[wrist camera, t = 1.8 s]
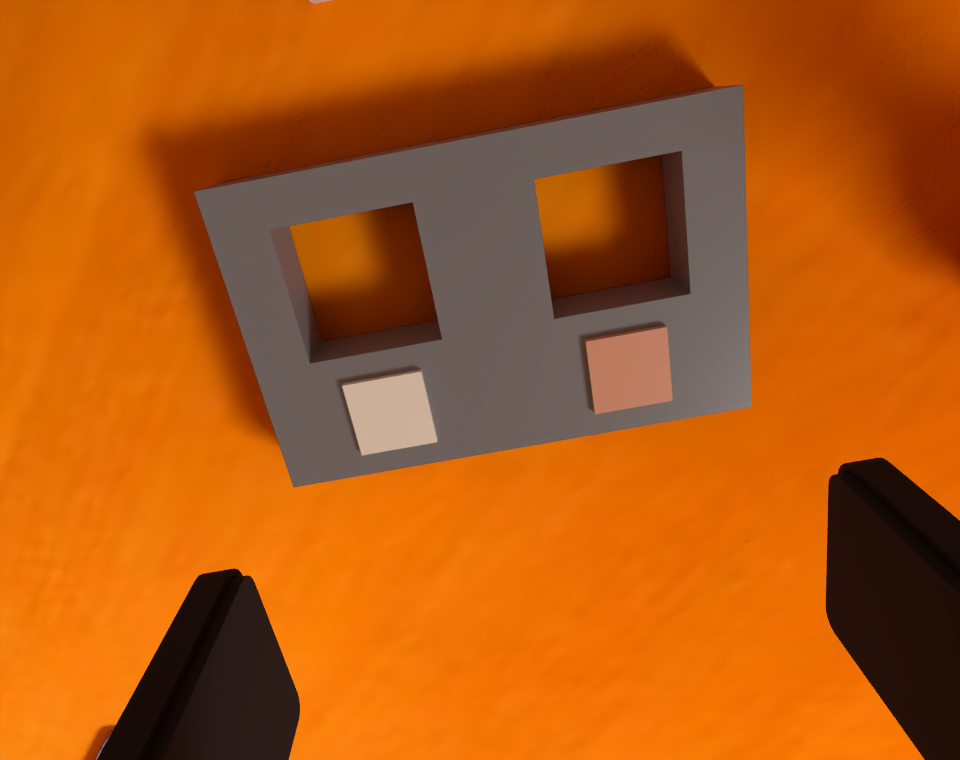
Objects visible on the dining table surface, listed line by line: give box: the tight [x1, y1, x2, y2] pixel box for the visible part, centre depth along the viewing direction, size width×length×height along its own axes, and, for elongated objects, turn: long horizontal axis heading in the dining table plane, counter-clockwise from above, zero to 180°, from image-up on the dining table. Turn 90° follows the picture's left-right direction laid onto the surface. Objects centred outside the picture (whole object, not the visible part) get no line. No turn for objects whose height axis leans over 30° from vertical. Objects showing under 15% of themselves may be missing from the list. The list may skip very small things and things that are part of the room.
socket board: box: [194, 85, 751, 487], centre depth 30 cm, size 14×22×3 cm, turn 100°
